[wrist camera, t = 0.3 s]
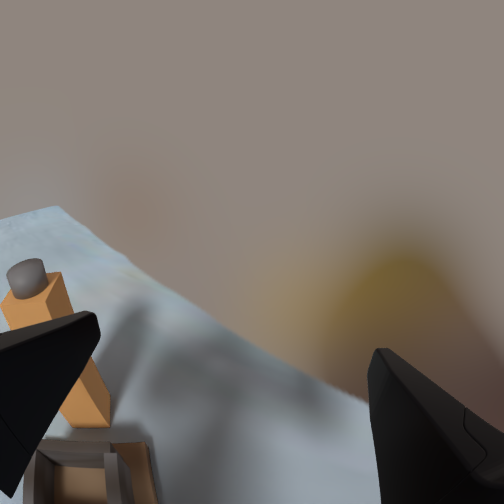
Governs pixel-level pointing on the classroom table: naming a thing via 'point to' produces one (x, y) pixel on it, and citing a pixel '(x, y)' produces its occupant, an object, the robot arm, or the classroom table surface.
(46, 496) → the keeper
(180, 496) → the classroom table surface
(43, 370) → the robot arm
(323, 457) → the classroom table surface
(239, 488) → the classroom table surface
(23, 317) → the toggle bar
